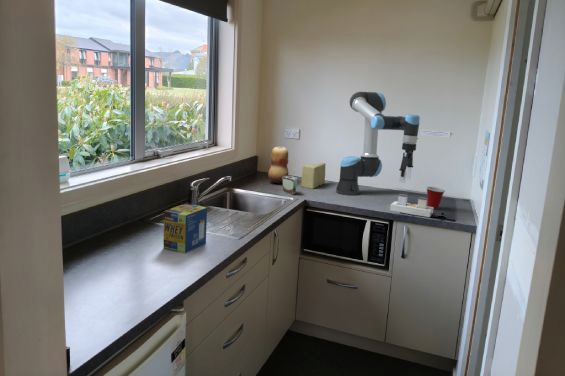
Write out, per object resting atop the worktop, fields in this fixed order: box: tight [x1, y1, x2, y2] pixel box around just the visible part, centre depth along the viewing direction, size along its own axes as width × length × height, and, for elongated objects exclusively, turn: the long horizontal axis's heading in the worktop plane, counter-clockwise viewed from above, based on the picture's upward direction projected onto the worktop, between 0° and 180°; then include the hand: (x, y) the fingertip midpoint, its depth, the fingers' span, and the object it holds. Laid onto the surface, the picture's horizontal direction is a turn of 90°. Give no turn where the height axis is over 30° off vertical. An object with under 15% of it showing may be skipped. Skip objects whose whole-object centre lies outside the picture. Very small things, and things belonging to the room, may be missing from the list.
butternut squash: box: [267, 146, 289, 184], centre depth 318 cm, size 14×13×25 cm
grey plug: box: [397, 193, 408, 206], centre depth 267 cm, size 4×4×9 cm
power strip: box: [389, 200, 447, 219], centre depth 263 cm, size 30×10×4 cm, turn 63°
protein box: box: [163, 203, 208, 254], centre depth 188 cm, size 10×15×16 cm
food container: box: [282, 175, 299, 196], centre depth 293 cm, size 12×6×10 cm, turn 37°
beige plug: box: [417, 196, 428, 209], centre depth 262 cm, size 4×4×9 cm
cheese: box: [300, 162, 326, 190], centre depth 318 cm, size 22×10×15 cm, turn 145°
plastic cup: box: [425, 186, 446, 210], centre depth 276 cm, size 11×11×12 cm
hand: (404, 180), depth 264 cm, fingers open, 13 cm apart
